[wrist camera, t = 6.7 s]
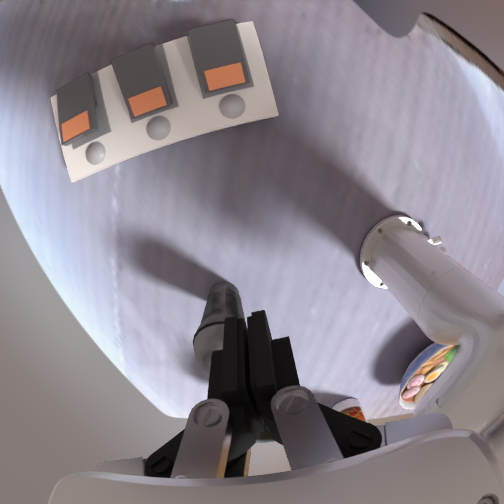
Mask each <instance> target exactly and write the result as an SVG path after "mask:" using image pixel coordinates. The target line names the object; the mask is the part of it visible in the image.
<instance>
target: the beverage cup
mask: <svg viewBox="0 0 504 504" xmlns="http://www.w3.org/2000/svg"><path fill="white" fill-rule="evenodd" d="M237 315H238V316H239V319H240V318H244V320H245V317H244V312H243V308H242V303H241V298H240V296H239V292H238V289H237V288H236V287H235V286H234V285H232V284H231V283H227V282H221V283H218V284H216V285H215V286H213V287H212V289H211V291H210V294H209V296H208V300H207V303H206V307H205V310H204V314H203V317H202V321H201V324H200V326H199V328H198V330H197V332H196V334H195V335H194V339H193V345H194V352H195V356H196V359H197V361H198V362H199V364H200V365H201V366H202V368H204V369H205V370H206V371H208V372H209V373H210V366H211V356H212V352H213V351H216V350H222V349H223V336H224V320H225V318H227V317H232V316H237ZM245 323H246V322H245ZM247 330H248V329H247Z"/></svg>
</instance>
